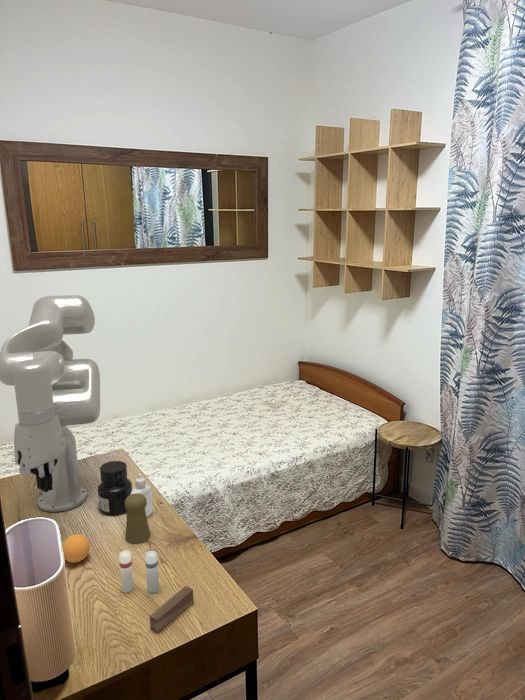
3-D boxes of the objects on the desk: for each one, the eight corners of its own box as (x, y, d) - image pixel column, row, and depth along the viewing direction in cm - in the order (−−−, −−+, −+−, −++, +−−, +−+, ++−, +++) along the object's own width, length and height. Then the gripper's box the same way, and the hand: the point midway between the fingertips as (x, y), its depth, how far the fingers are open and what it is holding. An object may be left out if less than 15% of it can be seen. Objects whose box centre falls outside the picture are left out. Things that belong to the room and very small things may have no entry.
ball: (57, 561, 119) (54, 538, 117) (79, 548, 123) (77, 526, 122) (73, 571, 115) (71, 548, 114) (96, 557, 120) (94, 534, 119)
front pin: (119, 590, 110) (116, 555, 108) (128, 583, 112) (125, 548, 110) (127, 594, 108) (124, 559, 106) (136, 587, 110) (133, 553, 108)
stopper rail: (150, 628, 99) (149, 615, 99) (186, 597, 107) (185, 585, 107) (157, 633, 98) (157, 620, 98) (193, 601, 106) (193, 589, 106)
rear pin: (144, 590, 110) (142, 555, 107) (153, 583, 112) (151, 548, 109) (153, 595, 108) (150, 559, 106) (161, 588, 110) (159, 553, 108)
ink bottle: (100, 499, 144) (97, 460, 141) (133, 495, 146) (130, 456, 143) (98, 519, 135) (94, 477, 132) (133, 514, 137) (130, 473, 134)
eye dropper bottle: (154, 518, 136) (152, 476, 133) (132, 522, 134) (129, 480, 131) (151, 509, 140) (149, 468, 137) (130, 513, 138) (127, 472, 135)
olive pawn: (144, 545, 124) (141, 504, 122) (120, 542, 126) (117, 501, 123) (154, 531, 130) (152, 491, 127) (131, 528, 131) (128, 488, 129)
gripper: (56, 402, 124) (63, 472, 129) (-6, 422, 112) (5, 498, 117) (76, 408, 120) (83, 480, 125) (14, 430, 108) (25, 509, 113)
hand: (45, 489), depth 121 cm, fingers closed
